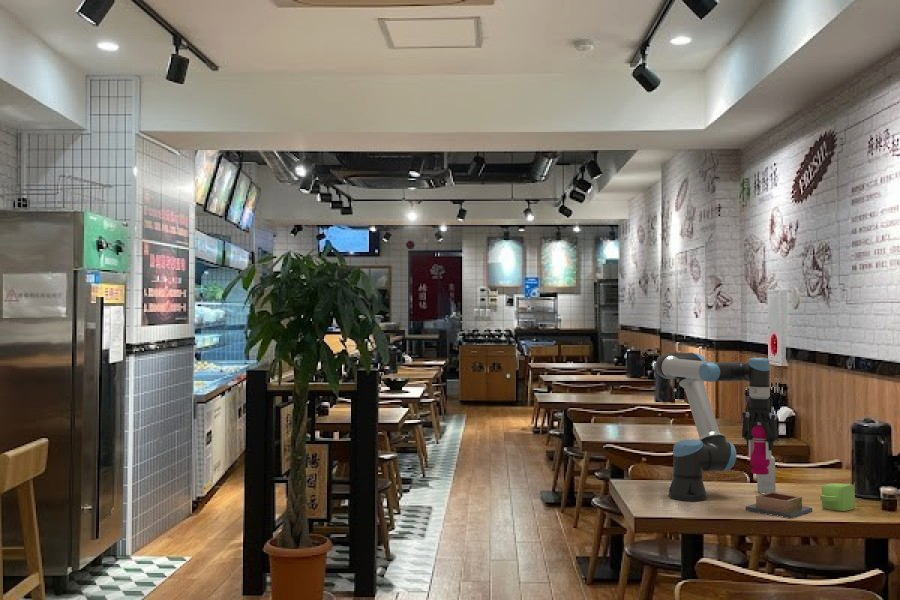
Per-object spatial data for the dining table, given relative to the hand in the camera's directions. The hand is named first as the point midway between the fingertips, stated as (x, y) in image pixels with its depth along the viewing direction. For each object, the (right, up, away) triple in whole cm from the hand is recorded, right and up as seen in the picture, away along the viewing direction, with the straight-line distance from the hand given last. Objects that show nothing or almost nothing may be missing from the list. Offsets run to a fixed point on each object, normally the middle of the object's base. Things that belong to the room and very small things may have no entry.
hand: (760, 457), depth 325 cm
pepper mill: (0, -6, 0) cm, 6 cm away
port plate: (+7, -21, 0) cm, 22 cm away
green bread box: (+33, -22, +8) cm, 40 cm away
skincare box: (+16, -22, +35) cm, 44 cm away
